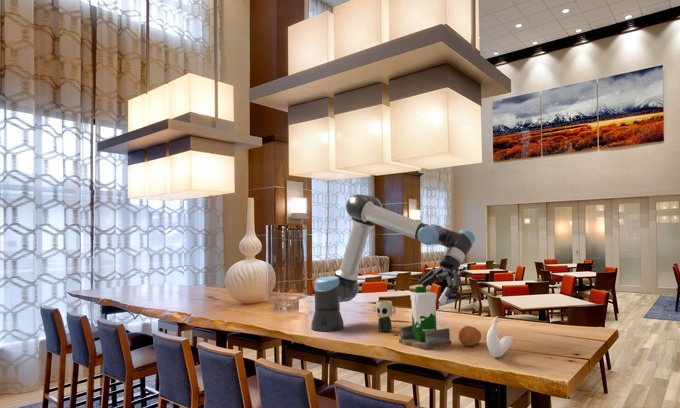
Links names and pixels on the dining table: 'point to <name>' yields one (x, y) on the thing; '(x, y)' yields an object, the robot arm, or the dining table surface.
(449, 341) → the grey square holder
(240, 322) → the dining table surface
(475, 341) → the potato
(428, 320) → the soya milk
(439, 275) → the robot arm
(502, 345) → the white bird figurine
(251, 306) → the dining table surface
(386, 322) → the white and green figurine
